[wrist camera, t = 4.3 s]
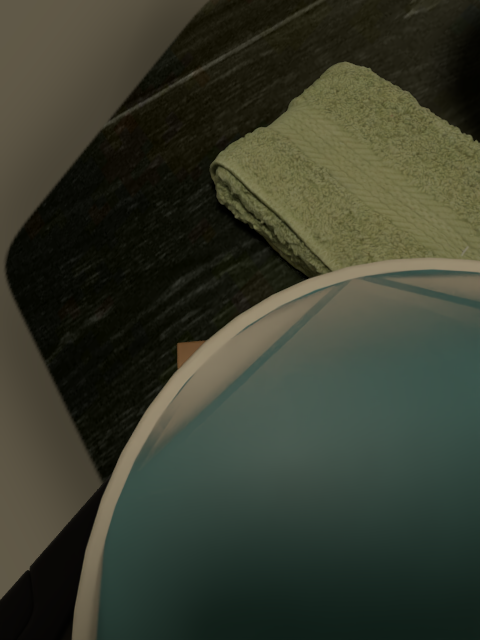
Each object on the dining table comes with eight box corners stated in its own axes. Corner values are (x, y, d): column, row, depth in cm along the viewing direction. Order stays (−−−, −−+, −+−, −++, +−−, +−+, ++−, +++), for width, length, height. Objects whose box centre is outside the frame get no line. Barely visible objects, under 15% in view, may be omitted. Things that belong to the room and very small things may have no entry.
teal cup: (391, 574, 13) (1338, 1544, 2) (219, 565, 13) (-28, 1306, 2) (378, 397, 15) (774, 255, 3) (226, 393, 15) (121, 253, 4)
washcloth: (421, 398, 20) (451, 390, 16) (199, 193, 24) (190, 157, 21) (569, 240, 22) (620, 207, 19) (340, 79, 26) (351, 32, 23)
